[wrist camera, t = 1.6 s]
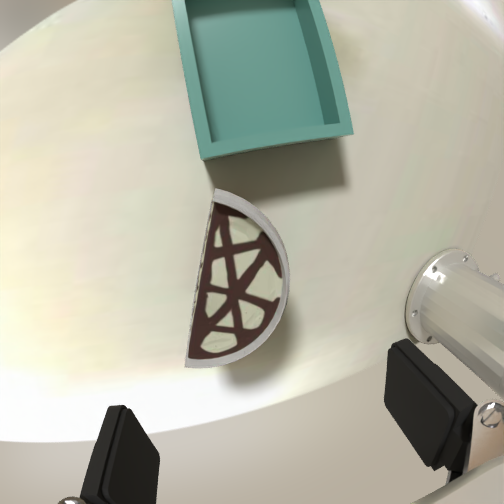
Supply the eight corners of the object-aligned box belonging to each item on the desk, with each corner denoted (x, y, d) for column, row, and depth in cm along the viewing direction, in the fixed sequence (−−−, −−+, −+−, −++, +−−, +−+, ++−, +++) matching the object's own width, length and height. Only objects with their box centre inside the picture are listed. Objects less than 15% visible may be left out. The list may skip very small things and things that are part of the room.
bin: (292, -19, 21) (303, -41, 17) (333, 138, 26) (353, 134, 22) (172, -6, 20) (167, -29, 16) (203, 160, 25) (200, 159, 21)
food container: (253, 320, 30) (270, 383, 20) (191, 310, 29) (183, 373, 19) (283, 197, 27) (319, 212, 18) (215, 182, 26) (215, 190, 17)
